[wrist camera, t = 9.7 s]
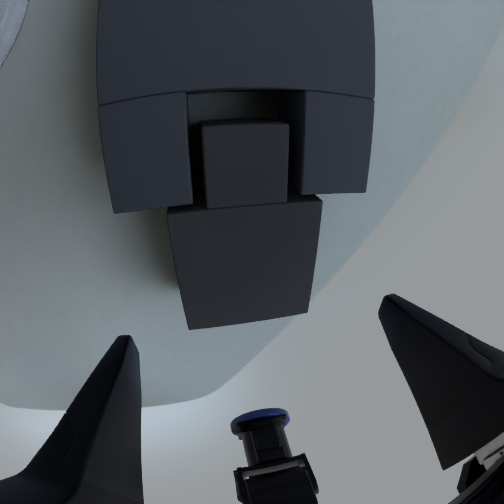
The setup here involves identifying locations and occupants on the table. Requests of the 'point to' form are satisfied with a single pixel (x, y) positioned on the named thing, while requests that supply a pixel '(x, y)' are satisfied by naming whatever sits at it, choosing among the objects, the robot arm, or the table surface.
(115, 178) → the dark grey block
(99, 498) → the robot arm
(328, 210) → the table surface
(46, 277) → the table surface
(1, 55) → the glass holder
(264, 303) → the black tabbed block
